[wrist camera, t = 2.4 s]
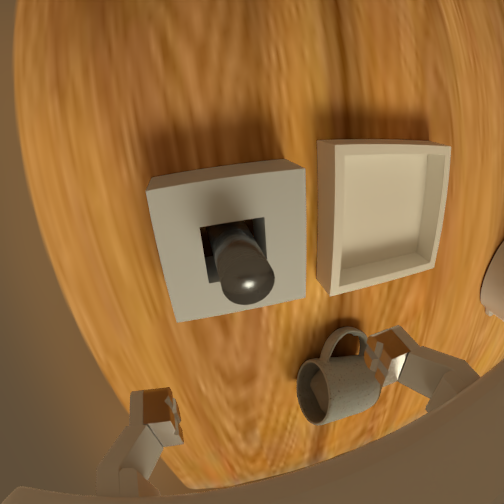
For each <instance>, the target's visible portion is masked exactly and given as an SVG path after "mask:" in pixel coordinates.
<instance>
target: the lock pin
mask: <svg viewBox="0 0 504 504" xmlns="http://www.w3.org/2000/svg"><path fill="white" fill-rule="evenodd" d="M207 231H208V236H209V240H210V244H211V248H212V252H213V256H214V260H215V264H216V268H217V272H218V276H219V280H220V283H221V287H222V291H223V293H224V295H225V296H226V298H227V299H228V300H230V301H231V302H233V303H236V304H239V305H250V304H254V303H257V302H259V301H261V300H263V299H264V298H265V297H266V296H267V295H268V294H269V293H270V292H271V290H272V288H273V286H274V282H275V275H274V272H273V269H272V268H271V266H270V264H269V263H268V261H267V259H266V257H265V256H264V254H263V252H262V251H261V249H260V247H259V245H258V244H257V242H256V240H255V239H254V237H253V235H252V233H251V232H250V230H249V228H248V227H247V225H246V223H245V222H244V220H241V221H235V222H229V223H222V224H216V225H210V226H208V229H207Z"/></svg>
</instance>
